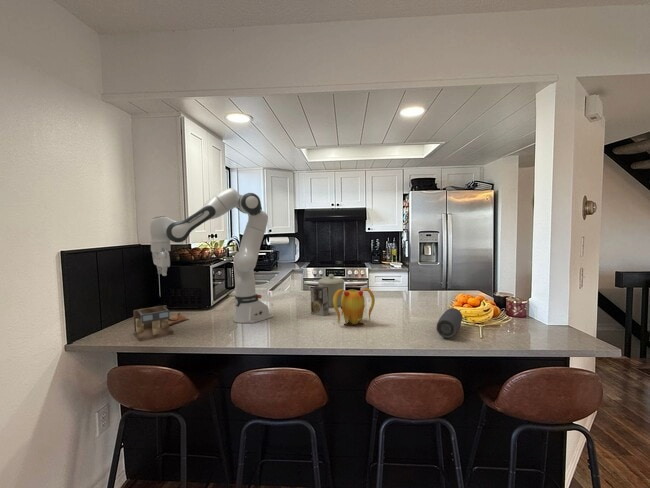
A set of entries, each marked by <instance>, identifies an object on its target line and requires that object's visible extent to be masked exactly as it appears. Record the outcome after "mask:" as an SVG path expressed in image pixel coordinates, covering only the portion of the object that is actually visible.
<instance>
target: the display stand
mask: <svg viewBox="0 0 650 488" xmlns="http://www.w3.org/2000/svg"><path fill="white" fill-rule="evenodd" d="M163 307H165V308H167V309H168V305H167V304H166V305H159V306H153V307H145V308H139V309H134V310H133V328H134V330H133V331H134V335H135V337H136V339H139V340H138V341H139V342H143V341H147V340H151V339H156V338H161V337H165V336H170V335H174V334H175V332H174V329H172V327H171V326H168V319H164V320H158V321H153V322H148V323H141V319H138V311H140V312H141V313H142V314H147V313H153V312H159V311H163ZM140 317H141V315H140Z"/></svg>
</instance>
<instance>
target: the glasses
mask: <svg viewBox="0 0 650 488" xmlns="http://www.w3.org/2000/svg"><path fill="white" fill-rule="evenodd" d="M140 315H141V317H140ZM170 316H171V315H170V310H169V309H168V307H167V308H165V307H163V311H159V312H153V313H147V314H142V313H141V312H140V311H138V319H141V323H148V322H153V321H158V320H164V319H169V318H170Z"/></svg>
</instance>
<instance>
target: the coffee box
mask: <svg viewBox="0 0 650 488" xmlns="http://www.w3.org/2000/svg"><path fill="white" fill-rule="evenodd" d="M329 308H330V307H329V304H328V287H321V286H319V285H315V286H312V287H310V310H311V311H310V314H311V315H315V316H327V315H329V313H330V309H329Z"/></svg>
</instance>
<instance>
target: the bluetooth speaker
mask: <svg viewBox="0 0 650 488" xmlns="http://www.w3.org/2000/svg"><path fill="white" fill-rule="evenodd" d="M462 322H463V314H462V312H461V311H460V310H459V308H454V307H450V308H448V309H447V310H445V311H444V312H443V313H442V314H441V316H440V318H439V319H438V321H437V322H436V331H437V333H438V335H440V336H441V337H443V338H452V337H453V336H454V335H456V333H458V330H460V327H461V324H462Z"/></svg>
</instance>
